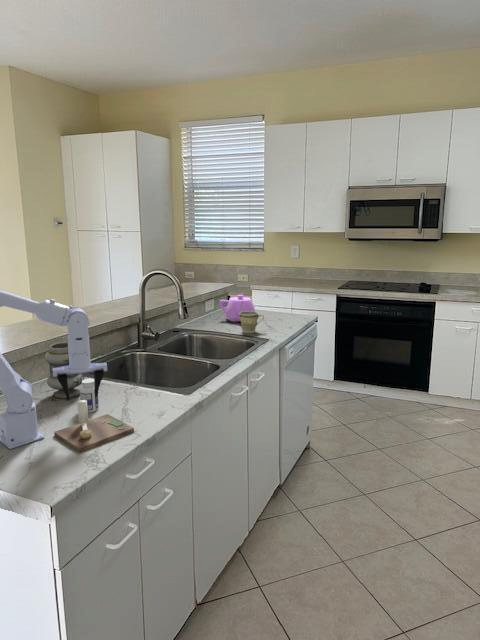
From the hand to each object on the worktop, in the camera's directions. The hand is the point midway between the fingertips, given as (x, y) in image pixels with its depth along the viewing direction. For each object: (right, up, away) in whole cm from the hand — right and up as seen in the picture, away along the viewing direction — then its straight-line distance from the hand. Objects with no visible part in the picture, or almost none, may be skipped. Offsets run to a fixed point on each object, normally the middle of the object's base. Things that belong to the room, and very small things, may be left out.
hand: (82, 397), depth 138 cm
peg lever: (+1, -9, -2) cm, 9 cm away
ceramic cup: (+51, +16, +118) cm, 129 cm away
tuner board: (+4, -10, -1) cm, 11 cm away
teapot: (+46, +22, +145) cm, 153 cm away
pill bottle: (-3, -7, +16) cm, 18 cm away
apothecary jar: (-14, -4, +28) cm, 32 cm away
